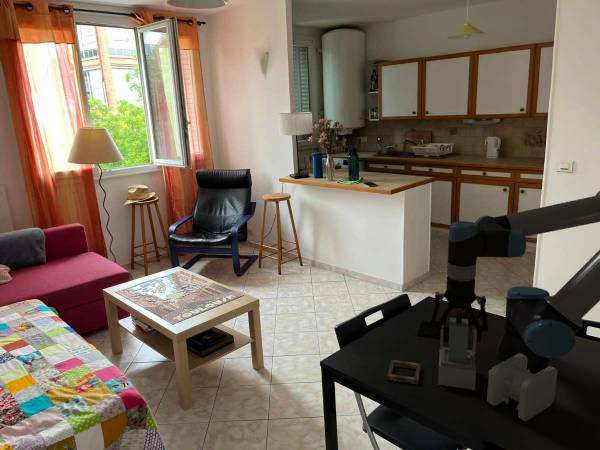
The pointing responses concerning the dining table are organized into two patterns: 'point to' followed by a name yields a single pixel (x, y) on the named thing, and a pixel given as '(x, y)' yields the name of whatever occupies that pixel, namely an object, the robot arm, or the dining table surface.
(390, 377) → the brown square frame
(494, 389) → the cable organizer
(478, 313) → the remote control
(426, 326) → the handheld gaming console
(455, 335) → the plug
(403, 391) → the dining table surface
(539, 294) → the robot arm
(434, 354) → the dining table surface
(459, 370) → the grey square recessed block
